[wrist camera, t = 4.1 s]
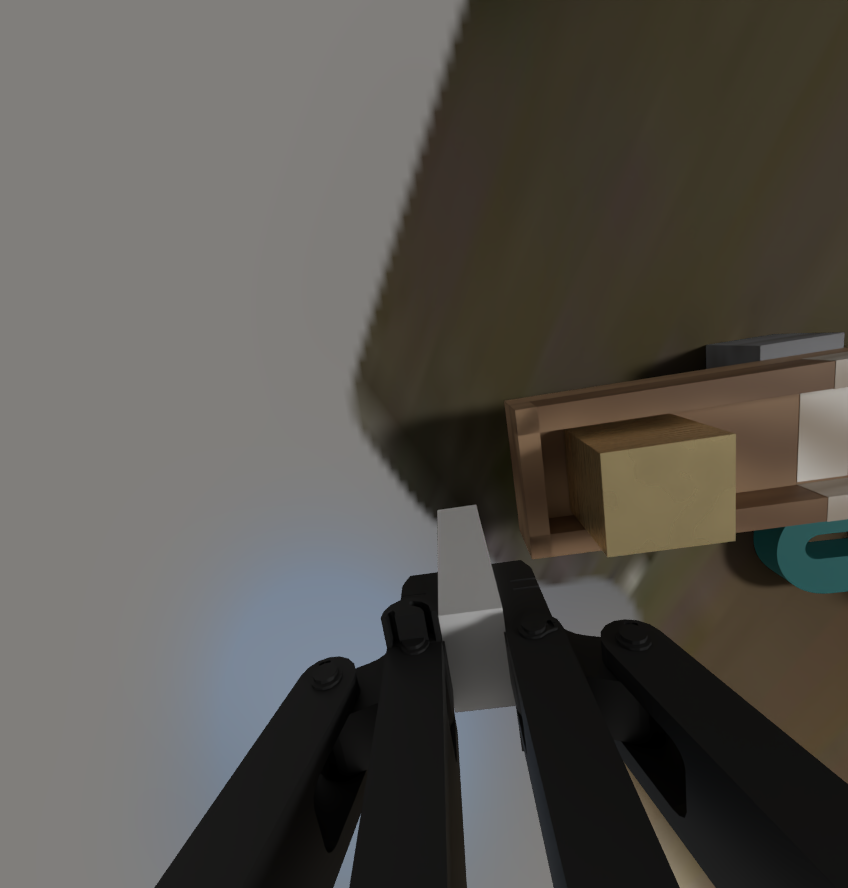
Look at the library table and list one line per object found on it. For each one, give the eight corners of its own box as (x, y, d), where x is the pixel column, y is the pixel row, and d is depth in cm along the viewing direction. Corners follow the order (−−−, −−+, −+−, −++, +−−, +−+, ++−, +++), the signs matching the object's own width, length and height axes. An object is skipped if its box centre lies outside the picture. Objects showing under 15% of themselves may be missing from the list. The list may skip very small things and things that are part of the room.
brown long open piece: (492, 379, 27) (513, 394, 19) (1009, 296, 25) (1264, 276, 17) (508, 512, 29) (533, 573, 21) (988, 445, 27) (1208, 487, 19)
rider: (563, 427, 21) (600, 453, 16) (666, 412, 21) (736, 433, 16) (570, 510, 22) (607, 557, 17) (669, 496, 22) (735, 540, 17)
